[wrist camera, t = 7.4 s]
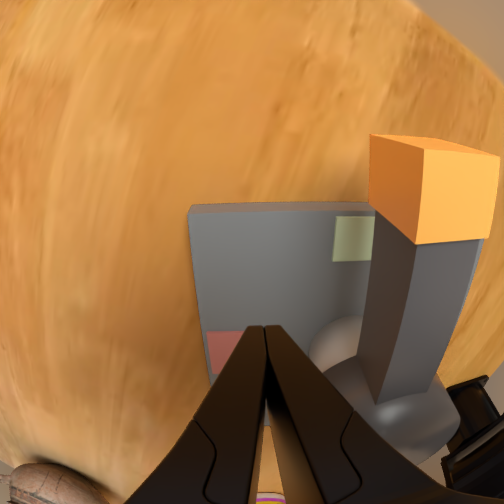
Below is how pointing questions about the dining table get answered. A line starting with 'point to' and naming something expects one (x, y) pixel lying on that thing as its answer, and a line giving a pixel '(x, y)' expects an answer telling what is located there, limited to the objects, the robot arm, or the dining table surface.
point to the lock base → (283, 275)
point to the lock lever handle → (416, 285)
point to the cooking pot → (49, 486)
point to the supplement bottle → (270, 498)
